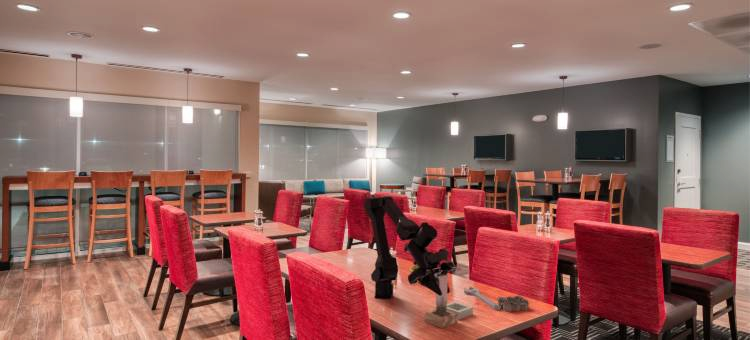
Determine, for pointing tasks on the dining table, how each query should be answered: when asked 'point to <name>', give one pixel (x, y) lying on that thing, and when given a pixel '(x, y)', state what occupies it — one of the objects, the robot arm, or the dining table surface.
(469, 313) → the square hollow frame
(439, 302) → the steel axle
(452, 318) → the beige square ring
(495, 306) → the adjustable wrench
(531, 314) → the dining table surface
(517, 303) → the grey jagged open ring
